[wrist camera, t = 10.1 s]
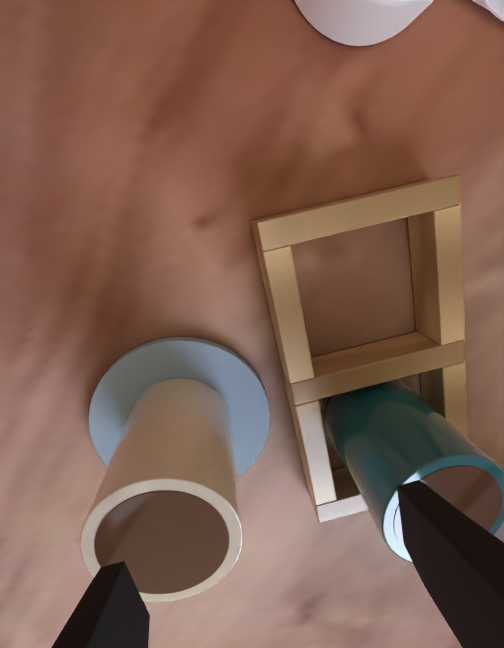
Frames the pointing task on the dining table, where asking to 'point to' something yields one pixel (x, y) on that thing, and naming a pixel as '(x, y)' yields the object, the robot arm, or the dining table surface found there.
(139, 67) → the dining table surface
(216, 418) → the cream cup
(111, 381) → the coaster
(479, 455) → the teal cup
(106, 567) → the robot arm
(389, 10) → the ring tube bracket
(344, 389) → the cup holder
